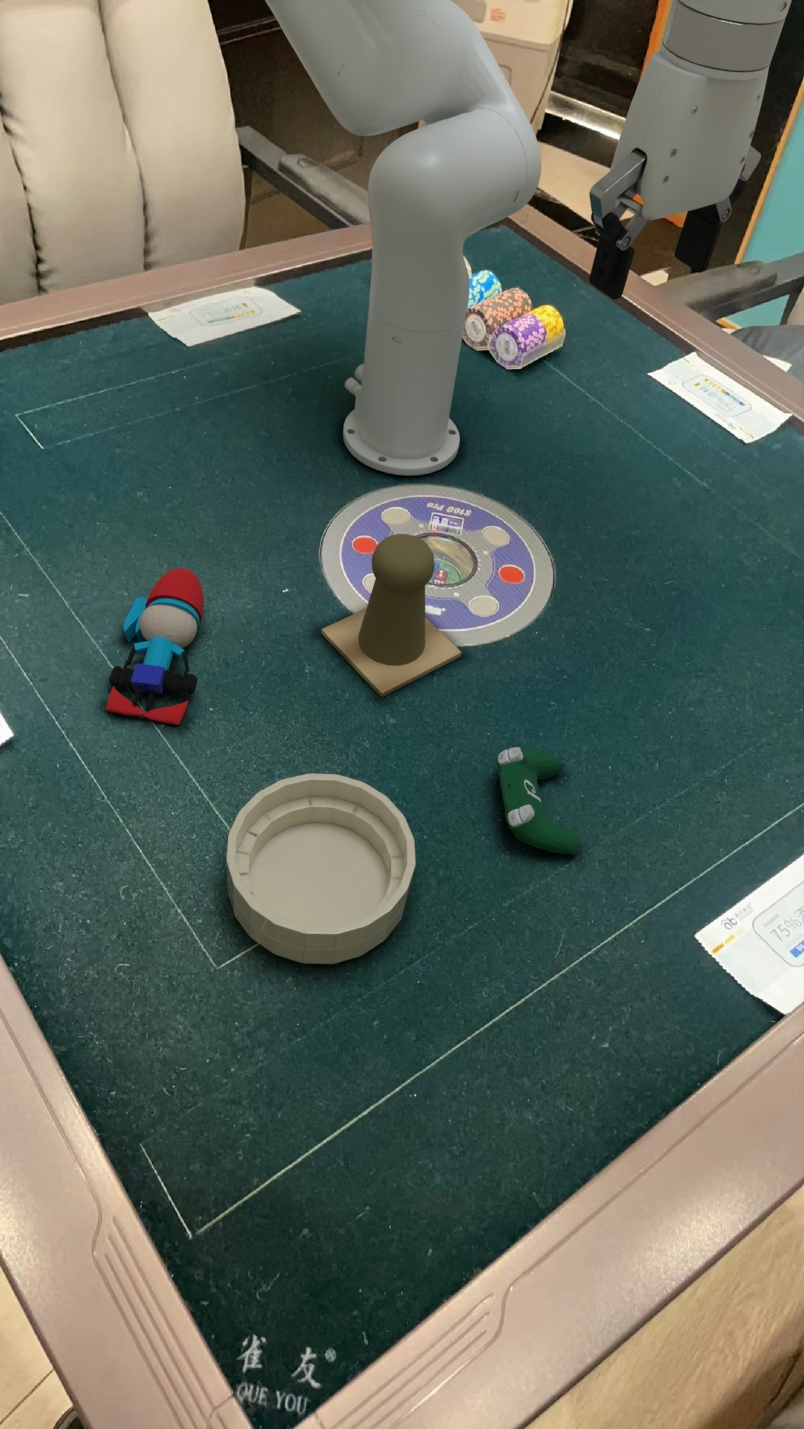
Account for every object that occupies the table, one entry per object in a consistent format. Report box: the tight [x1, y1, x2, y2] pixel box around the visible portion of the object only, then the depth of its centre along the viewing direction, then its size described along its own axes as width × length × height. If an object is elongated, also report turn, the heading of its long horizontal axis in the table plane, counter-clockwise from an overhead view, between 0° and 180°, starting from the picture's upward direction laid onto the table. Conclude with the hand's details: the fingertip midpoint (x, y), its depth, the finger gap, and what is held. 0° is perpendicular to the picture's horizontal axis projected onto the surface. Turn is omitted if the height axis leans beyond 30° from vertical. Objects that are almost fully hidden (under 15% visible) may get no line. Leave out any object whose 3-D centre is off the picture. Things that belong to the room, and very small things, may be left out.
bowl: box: [225, 773, 417, 965], centre depth 76 cm, size 13×13×5 cm
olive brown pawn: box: [358, 533, 436, 666], centre depth 89 cm, size 6×6×11 cm
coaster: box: [320, 607, 462, 698], centre depth 94 cm, size 9×9×1 cm
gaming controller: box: [496, 746, 580, 856], centre depth 83 cm, size 9×4×6 cm
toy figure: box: [105, 567, 205, 726], centre depth 89 cm, size 8×5×15 cm
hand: (648, 277), depth 84 cm, fingers open, 9 cm apart
